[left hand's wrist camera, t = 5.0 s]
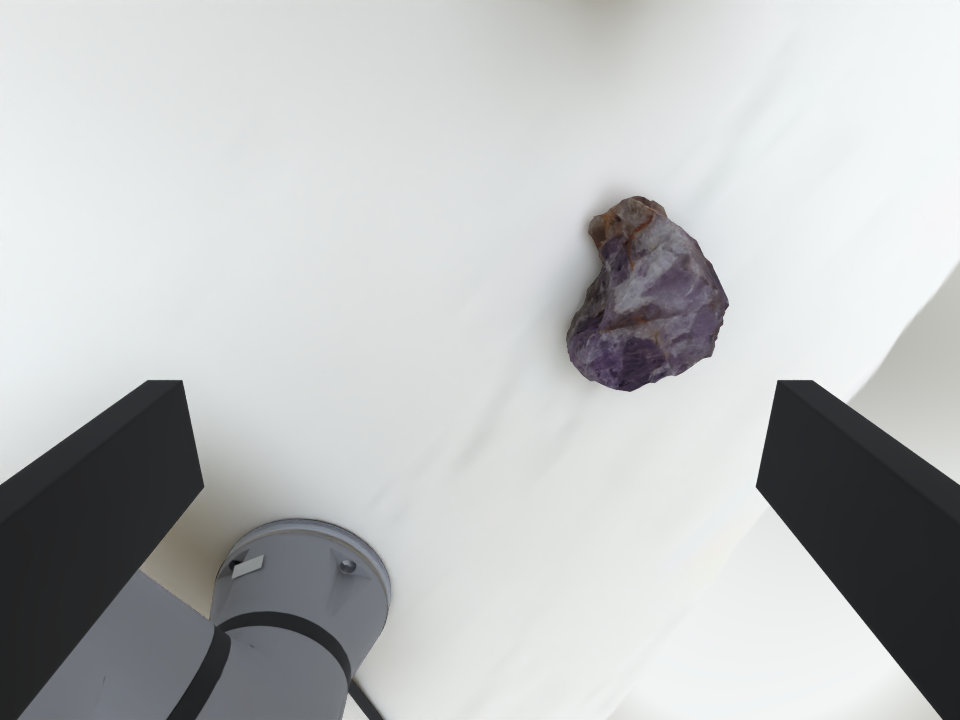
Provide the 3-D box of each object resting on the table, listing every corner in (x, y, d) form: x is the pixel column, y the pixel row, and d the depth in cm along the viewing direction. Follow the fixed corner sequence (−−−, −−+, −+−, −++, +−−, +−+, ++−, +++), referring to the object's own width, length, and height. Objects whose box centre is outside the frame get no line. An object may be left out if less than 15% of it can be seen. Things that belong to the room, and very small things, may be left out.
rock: (542, 324, 44) (661, 364, 45) (545, 381, 36) (688, 428, 37) (606, 178, 38) (740, 227, 39) (625, 209, 31) (790, 269, 32)
